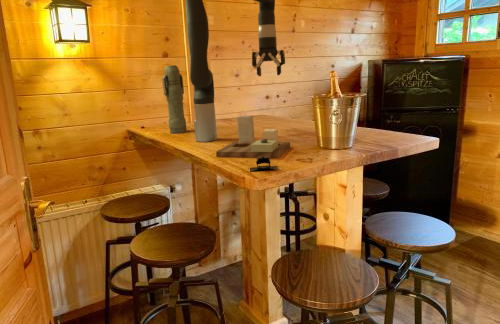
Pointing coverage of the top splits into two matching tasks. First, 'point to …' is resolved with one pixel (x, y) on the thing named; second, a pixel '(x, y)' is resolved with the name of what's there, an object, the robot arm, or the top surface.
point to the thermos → (174, 99)
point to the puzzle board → (245, 150)
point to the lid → (264, 146)
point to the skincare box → (246, 128)
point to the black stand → (263, 168)
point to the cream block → (271, 135)
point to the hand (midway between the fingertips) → (269, 75)
